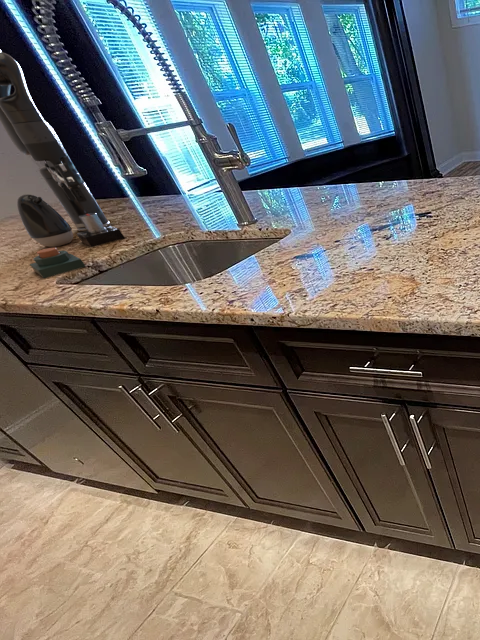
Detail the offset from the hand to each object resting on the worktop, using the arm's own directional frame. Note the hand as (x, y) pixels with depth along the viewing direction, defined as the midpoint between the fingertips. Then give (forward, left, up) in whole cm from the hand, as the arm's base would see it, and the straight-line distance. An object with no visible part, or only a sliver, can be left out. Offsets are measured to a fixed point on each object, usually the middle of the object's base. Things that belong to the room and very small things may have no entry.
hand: (78, 200), depth 130 cm
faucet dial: (0, 0, -9) cm, 9 cm away
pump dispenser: (-11, -9, -12) cm, 19 cm away
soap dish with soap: (+23, -16, -12) cm, 30 cm away
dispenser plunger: (+23, -16, -9) cm, 29 cm away
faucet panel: (0, 0, -12) cm, 12 cm away
